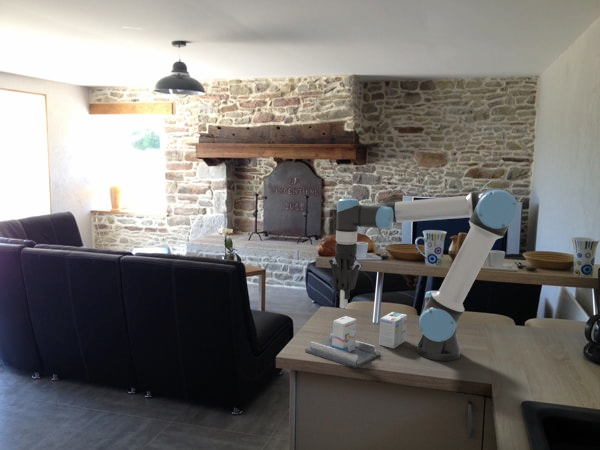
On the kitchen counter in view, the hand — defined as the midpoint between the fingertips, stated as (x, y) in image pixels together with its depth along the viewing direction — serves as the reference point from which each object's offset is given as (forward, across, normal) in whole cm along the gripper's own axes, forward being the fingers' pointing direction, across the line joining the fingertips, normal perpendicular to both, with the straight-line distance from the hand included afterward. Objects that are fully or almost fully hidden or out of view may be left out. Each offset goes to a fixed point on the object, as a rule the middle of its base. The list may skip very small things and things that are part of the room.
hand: (343, 307), depth 189 cm
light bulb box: (+17, -8, -22) cm, 29 cm away
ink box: (+16, -1, 0) cm, 16 cm away
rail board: (+17, 0, 0) cm, 17 cm away
